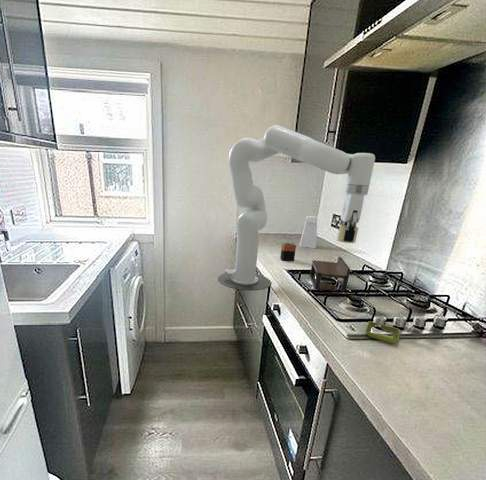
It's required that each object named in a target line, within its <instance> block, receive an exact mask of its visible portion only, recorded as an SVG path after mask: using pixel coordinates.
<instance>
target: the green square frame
mask: <svg viewBox="0 0 486 480" xmlns="http://www.w3.org/2000/svg"><path fill="white" fill-rule="evenodd" d="M377 324H378V322H375V321H370V320H369V321H368V322H367V325H366V328H365V333H366V335H367V336H368V337H369V338H372V339H376V340H378V341H381V342H386V343H389V344H396V343H397V342H399V340H400V334H401V333H400V332H401V330H400V329H399V328H398V327H394V326H390V325H386V324H382V323H379V324H380V325H381V329H382V330H384V331H390V332H393V333H395V334H394V335H393V336H388V335H378V334H374V333H371V332H370V331H371V328H372V327H375V325H377Z"/></svg>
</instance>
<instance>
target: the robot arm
mask: <svg viewBox="0 0 486 480" xmlns="http://www.w3.org/2000/svg"><path fill="white" fill-rule="evenodd" d="M228 154H229V155H228V167H229V172H230V177H231V183H232V189H233V190H232V191H233V195H234V201H235V203H236V205H237V206H238V207H239V208H242V209H245V211H243V212H242V213H240V215H239V216H238V217H237V221H236V251H235V263H234V269H225V270H224V273H225V274H227V275H232V276H231V281H233V282H234V283H237V284H242V285H253V284H256V283H257V282H258V278H257V277H255V274H257V262H258V255H259V242H260V241H259V239H260V237H259V231H260V230H263V229H264V228H265V227H266V225H267V222H268V214H267V208H266V202H265V201H266V200H265V196H264V193H263V191H262V188H260V187H259V186H258V185H256V184H254V181H253V176H252V171H251V168H250V165H249V163H250V162H251V163H258V162H261V161H264V160H267V159H268V158H271V157H273V156H275V155H279V154H282V155H285V156H288V157H290V158H292V159H294V160H297V161H299V162H303V163H306V164H309V165H311V166H313V167H316V168H318V169H320V170H322V171H325V172H328V173H330V174H333V175H347V178H346V183H345V189H344V194H346V195H345V198H344V201H343V206H342V210H341V214H340V220H341V221H342V222H343V223H342V225H347V230H345V235H344V241H348V242H353V239H354V235H355V230H356V227H357V224H358V223H359V222H360V219H361V216H362V210H363V205H364V201H365V200H364V199H365V196H368V194H369V188H370V184H371V179H372V176H373V172H374V171H373V170H374V166H375V161H376V156H375V154H373V153H371V152H356V153H346V152H345V151H343V150H340V149H338V148H335V147H333V146H330V145H328V144H325V143H322V142H320V141H317V140H315V139H313V138H312V137H310V136H308V135H304V134H303V133H300V132H297V131H294V130H291V129H289V128H287V127H284V126H281V125H279V124H277V125H276V124H275V125H272V126H269V128H267V130H266V131H265V133H264V136H263V137H262V138H259V139H254V138H251V137H244V138H241V139H238V140H237V141H236V142H235V143H234V144H233V145H232V147H231V149H230V151H229V153H228Z"/></svg>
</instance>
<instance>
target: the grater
mask: <svg viewBox="0 0 486 480" xmlns="http://www.w3.org/2000/svg"><path fill="white" fill-rule="evenodd" d="M308 218H314V216H310V215H307V216H306V217H305V219H308ZM316 218H317V221H316V222H311V221H305V222H304V226H303V230H302V234H301V238H300V241H299V247H300V248H306V247H308V248H307V249H315V248H316V249H317V238H318V237H317V236H318V221H319V218H318V217H316Z"/></svg>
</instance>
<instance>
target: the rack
mask: <svg viewBox="0 0 486 480" xmlns="http://www.w3.org/2000/svg"><path fill="white" fill-rule="evenodd" d="M315 273H316V274H315ZM350 273H351V268H350V266H349V265H348V264H347V263H346V261H345V260H344V259H343V258H342V257H341V256H338V257H337V262H335V261H325V260H316V259H315V260H312V261H311V268H310V273H309V278H310V281H311V284H312V288H313V287H314V288H313V290H314V289H317V290H331V291H336V290H338V289H337V287H336V286H334V285H332V284H326V283H323V282H320V281H321V276H325V277H334V278H337V279H338V281H339V282H340V280H339V279H342V283H341V282H340V284H341V285H342V287H341V291H346V292H347V287H348V283H349V278H350ZM315 275H317V276H316V279H315Z"/></svg>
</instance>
